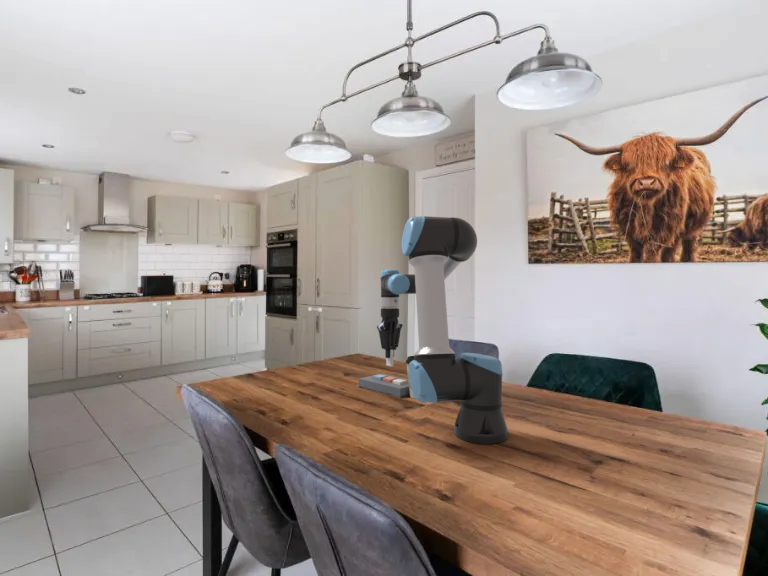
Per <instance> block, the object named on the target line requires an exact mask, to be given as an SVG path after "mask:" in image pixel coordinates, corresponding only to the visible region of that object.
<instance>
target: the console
mask: <svg viewBox="0 0 768 576" xmlns="http://www.w3.org/2000/svg"><path fill="white" fill-rule="evenodd" d="M379 374H381V375H385V376H387V377H394V378H397V379H403V380H407V383H406V384H403V385H398V384H393V382H391V383H389V382H385V381H383V380H377V379H373V376H375V375H379ZM358 388H360V389H361V388H362V389H365V390H369V391H373V392H376V393H380V394H384V395H388V396H392V397H395V398H398V399H401V398H404V397H407V396H410V390H409V384H408V378H407V379H406V378H401V377H397V376H392V375H389V374H384V373H377V374H374V375H369V376H364V377H361V378H358Z"/></svg>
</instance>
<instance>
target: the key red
mask: <svg viewBox="0 0 768 576" xmlns="http://www.w3.org/2000/svg"><path fill="white" fill-rule="evenodd" d="M394 377H395V376H393V377H385V378H383V381H385V382H389V383H391V382H393V380H396V379H397V378H394Z"/></svg>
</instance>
